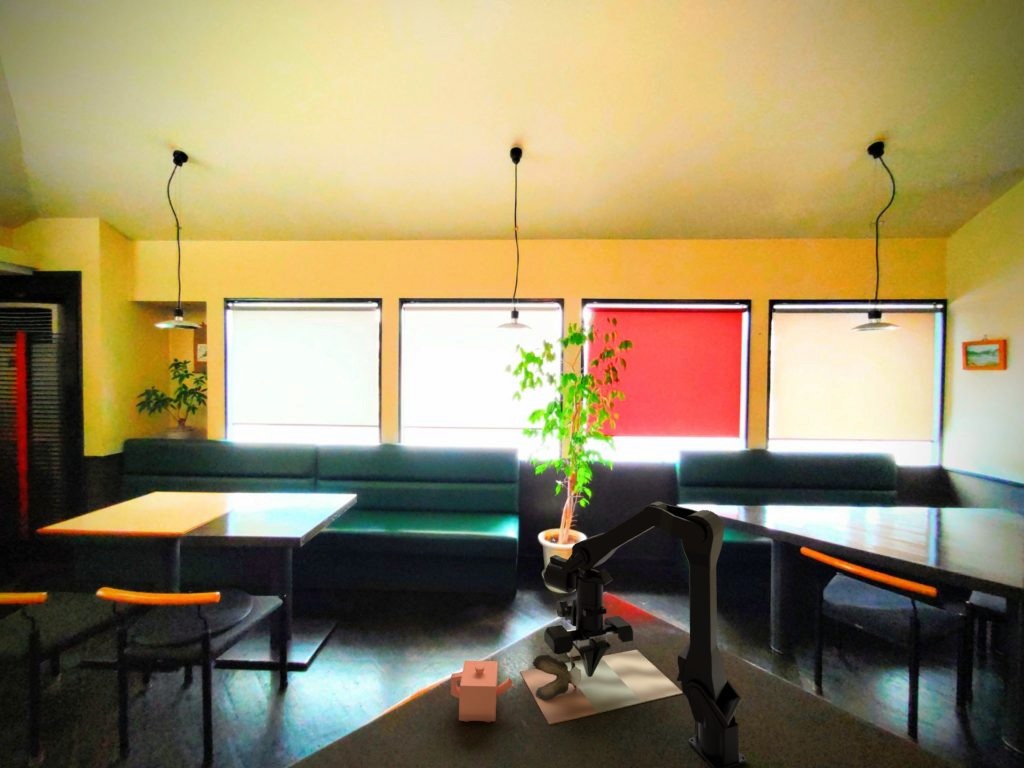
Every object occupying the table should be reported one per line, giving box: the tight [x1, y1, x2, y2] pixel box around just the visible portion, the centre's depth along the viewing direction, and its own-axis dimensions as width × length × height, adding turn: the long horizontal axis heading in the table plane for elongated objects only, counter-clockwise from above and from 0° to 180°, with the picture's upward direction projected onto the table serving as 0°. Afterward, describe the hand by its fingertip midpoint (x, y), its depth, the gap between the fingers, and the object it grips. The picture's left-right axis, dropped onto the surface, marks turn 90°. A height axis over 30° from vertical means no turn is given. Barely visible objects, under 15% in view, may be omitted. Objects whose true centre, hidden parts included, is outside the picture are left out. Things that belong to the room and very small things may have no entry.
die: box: [566, 628, 581, 658], centre depth 100 cm, size 4×4×4 cm
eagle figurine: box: [531, 654, 582, 700], centre depth 85 cm, size 8×7×9 cm
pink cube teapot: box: [450, 660, 514, 723], centre depth 79 cm, size 8×12×8 cm, turn 90°
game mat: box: [519, 649, 684, 726], centre depth 88 cm, size 16×30×1 cm, turn 108°
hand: (589, 675), depth 87 cm, fingers closed
